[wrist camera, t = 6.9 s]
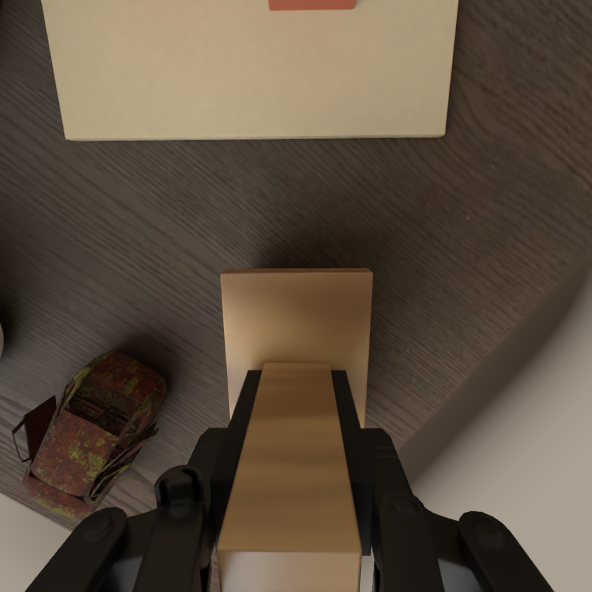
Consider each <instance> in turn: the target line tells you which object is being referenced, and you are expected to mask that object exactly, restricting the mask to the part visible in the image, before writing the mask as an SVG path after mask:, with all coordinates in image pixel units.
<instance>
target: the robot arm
mask: <svg viewBox="0 0 592 592" xmlns="http://www.w3.org/2000/svg"><path fill="white" fill-rule="evenodd" d="M261 374H262V370H248V371H247V374H246V377H245V380H244V383H243V386H242V389H241V391H240V394H239V397H238V400H237V403H236V406H235V409H234V411H233V414H232V417H231V420H230V423H229V426H228V428H209V429H208V430H206V431H205V432H204V433H203V434H202V435H201V436H200V438H199V440H198V442H197V444H196V446H195V449H194V451H193V453H192V455H191V458H190V459H189V462H188V464H187V465H180V466H176V467H173V468H171V469H169V470H168V471H166V472H165V473H163V474H162V475H161V476H160V477H159V478H158V480H157V481H156V483H155V485H154V487H155V494H156V500H157V507H158V508H156V509H154V510H152V511H149V512H146V513H143V514H139V515H136V516H132V517H128V518H127V515H126V513H125V512H124V511H123V509H120V508H117V507H110V508H104V509H101V510H99V511H96V512H94V513H93V514H91V515H90V516H88V517H86V518H85V519H84V520H83V521H82V522H81V523H80V524H79V525H78V526H77V527H76V528H75V529H74V531H73V532H72V533H71V534H70V536H69V537H68V538H67V539H66V541H65V542H64V543H63V545H62V546H61V547H60V548H59V549H58V551H57V552H56V553H55V555H54V556H53V557H52V558H51V559H50V561H49V562H48V563H47V564H46V566H45V567H44V568H43V570H42V571H41V572H40V573H39V574H38V576H37V577H36V578H35V579H34V581H33V582H32V583H31V584H30V586H29V587H28V588H27V589H26V591H25V592H209V591H210V582H211V572H212V568H211V554H212V551H213V547H214V543H215V545H216V547H217V544H218V540H219V536H220V532H221V528H222V524H223V520H224V517H225V513H226V509H227V505H228V501H229V497H230V493H231V490H232V486H233V482H234V478H235V474H236V470H237V466H238V463H239V459H240V455H241V451H242V447H243V443H244V439H245V435H246V432H247V428H248V424H249V420H250V416H251V412H252V408H253V405H254V401H255V397H256V393H257V389H258V385H259V381H260V378H261ZM331 375H332V380H333V386H334V392H335V398H336V403H337V409H338V415H339V421H340V426H341V432H342V438H343V444H344V449H345V455H346V461H347V467H348V472H349V478H350V484H351V490H352V495H353V501H354V507H355V513H356V518H357V524H358V530H359V536H360V541H361V547H362V556H370V555H371V545H372V549H373V554H374V559H375V561H374V574H373V587H372V592H554V591H553V589H552V588H551V587H550V585H549V584H548V582H547V581H546V580H545V578H544V577H543V576H542V574H541V573H540V571H539V570H538V569H537V567H536V566H535V565H534V563H533V562H532V561H531V559H530V558H529V556H528V555H527V554H526V552H525V551H524V549H523V548H522V547H521V545H520V544H519V543H518V541H517V540H516V538H515V537H514V536H513V534H512V533H511V532H510V531H509V530H508V529H507V528H506V526H505V525H504V524H503V523H501V522H500V521H498V520H497V519H496V518H494V517H493V516H490V515H488V514H485V513H483V512H477V511H470V512H466V513H464V514H463V515H462V516H461V517H460V519H459V521H456V520H453V519H449V518H446V517H443V516H440V515H437V514H435V513H432V512H431V511H429V510H428V509H426V508H425V507H424V505H423V503H422V502H421V501H420V500H419V499H418V498H417V497H416V496H414V495H413V493H412V491H411V488H410V486H409V483H408V481H407V478H406V476H405V473H404V470H403V468H402V465H401V463H400V460H399V459H398V455H397V452H396V450H395V447H394V444H393V442H392V439H391V437H390V436H389V435H388V434H387V433H386V432H385V431H384V430H383V429H382V428H361V426H360V422H359V418H358V415H357V411H356V407H355V403H354V400H353V396H352V392H351V388H350V385H349V381H348V377H347V373H346V370H331ZM216 553H217V548H216Z"/></svg>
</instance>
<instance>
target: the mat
mask: <svg viewBox="0 0 592 592" xmlns="http://www.w3.org/2000/svg"><path fill="white" fill-rule="evenodd" d="M41 1H42V7H43V13H44V19H45V24H46V30H47V36H48V41H49V47H50V53H51V59H52V64H53V70H54V76H55V81H56V87H57V93H58V98H59V104H60V110H61V116H62V121H63V127H64V133H65V138H66V139H68V140H71V141H132V140H223V139H315V138H407V137H441V136H443V135H445V128H446V118H447V108H448V99H449V89H450V79H451V69H452V59H453V50H454V40H455V30H456V20H457V10H458V1H459V0H355V3H354V7H353V9H344V10H285V11H270V10H269V3H268V0H41Z"/></svg>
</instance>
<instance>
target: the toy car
mask: <svg viewBox="0 0 592 592" xmlns="http://www.w3.org/2000/svg"><path fill="white" fill-rule="evenodd" d="M166 390H167V385H166V381H165V379H164V378H163V377H162V376H161V375H159V374H158V373H157V372H155V371H153V370H152V369H150V368H149V367H147V366H145V365H143V364H142V363H140V362H138V361H136V360H134V359H133V358H131V357H129V356H127V355H125V354H122V353H120V352H117V351H110V352H107V353H105V354H102V355H100V356H98V357H97V358H95V359H94V360H92V361H91V362H90V363H89V364H88V365H87V366H85V367H84V368H82V369H81V370H80V371H79V372H78V373H77V374H76V375H75V377H74V378H73V379H72V381H71V382H70V383H69V384H68V385H66V387H65V390H64V392H63V394H62V396H61V399H60V401H59V403H58V406H57V407H56V398H55V395H54V396H52V397H51V398H49V399H48V400H46V401H45V402H44V403H42V404H41V405H39V406H38V407H36V408H35V409H34V410H32V411H31V412H29V413H27V414H25V416H24V417H23V418H24V419H23V420H22V421H21V422H20V423H19V424H18V425H17V427H16V428H15V429H14V430H13V431H12V434H13V439H14V444H15V447H16V450H17V453H18V456H19V458H20V460H21V462H22V463H23V462H26V461H28V460H30V459H31V460H30V462H29V465H28V467H27V469H26V471H25V475H24V478H23V481H22V485H23V487H24V489H25V490H26V492H27V493H28V495H29V496H30V497H31V498H32V499H33V500H35V501H36V502H38V503H39V504H41V505H42V506H44V507H46V508H48V509H50V510H53V511H55V512H57V513H59V514H62V515H65V516H69V517H76V518H79V517H88V516H90V515H91V514H92V513H94V511H95V510H96V508H97V507H98V506H99V505H100V504H101V502H102V500H103V499H104V497H105V496H106V495H107V494H108V493H109V491H110V490H111V488H112V487H113V485H114V483H115V482H116V480H117V479H118V478H119V477H120V476H121V475H122V473H123V472H124V471H125V470H126V469H127V468H128V467H129V465H130V464H131V463H132V462H133V460H134V458H135V457H136V455H137V454H138V452H139V451H140V449H141V447H142V446H143V445H144V444H145V443H146V442H147V441H149V440H150V439H151V438H152V437H154V436H155V435H156V433H157V432H158V430H159V428H158V429H156V430H154V428H155V426H156V423H157V422H155V423H154V424H153V425H152V426H150V427H149V428H148V429H147V430H146V428H147V426H148V425H149V424H150V423H151V422H152V420H153V418H154V416H155V414H156V412H157V410H158V408H159V407H160V405H161V404H162V402H163V400H164V399H165V397H166V395H167V394H168V392H169V391H166ZM73 406H74V407H73ZM69 411H70V412H69ZM23 424H24V427H25V433H26V440H27V446H28V452H29V458H28V459H26V460H24V461H23V460H22V459H21V457H20V455H19V452H18V449H17V446H16V442H15V438H14V434H15V433H16V432H17V431H18V430H19V429H20V428H21V426H22V425H23ZM130 455H131V456H130ZM129 456H130V457H129ZM128 457H129V458H128ZM127 458H128V459H127Z"/></svg>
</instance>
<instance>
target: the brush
mask: <svg viewBox="0 0 592 592" xmlns="http://www.w3.org/2000/svg"><path fill="white" fill-rule="evenodd" d="M220 279H221V294H222V308H223V323H224V337H225V352H226V366H227V381H228V395H229V410H230V420H231V417H232V414H233V411H234V409H235V406H236V403H237V400H238V397H239V394H240V391H241V389H242V386H243V383H244V380H245V377H246V374H247V371H248V370H262V374H261V378H260V381H259V385H258V389H257V393H256V397H255V401H254V405H253V408H252V412H251V416H250V420H249V424H248V428H247V432H246V435H245V439H244V443H243V447H242V451H241V455H240V459H239V463H238V466H237V470H236V474H235V478H234V482H233V486H232V490H231V493H230V497H229V501H228V505H227V509H226V513H225V517H224V520H223V524H222V528H221V532H220V536H219V540H218V544H217V547H216V548H217V558H218V569H219V580H220V591H221V592H360V575H361V558H362V547H361V541H360V536H359V530H358V524H357V518H356V513H355V507H354V501H353V495H352V490H351V484H350V478H349V472H348V467H347V461H346V455H345V449H344V444H343V438H342V432H341V426H340V421H339V415H338V409H337V403H336V398H335V392H334V386H333V380H332V375H331V370H346V373H347V377H348V381H349V385H350V388H351V392H352V396H353V400H354V403H355V407H356V411H357V415H358V418H359V422H360V426H361V428H365V412H366V394H367V376H368V358H369V340H370V322H371V304H372V286H373V272H371V271H370V270H369V269H368V268H244V269H225V270H224V271H223V272H221V273H220Z"/></svg>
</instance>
